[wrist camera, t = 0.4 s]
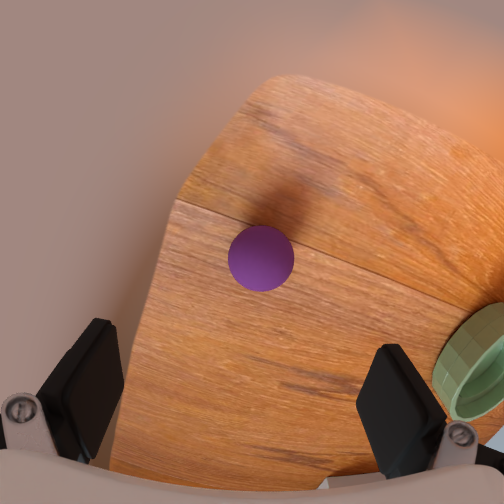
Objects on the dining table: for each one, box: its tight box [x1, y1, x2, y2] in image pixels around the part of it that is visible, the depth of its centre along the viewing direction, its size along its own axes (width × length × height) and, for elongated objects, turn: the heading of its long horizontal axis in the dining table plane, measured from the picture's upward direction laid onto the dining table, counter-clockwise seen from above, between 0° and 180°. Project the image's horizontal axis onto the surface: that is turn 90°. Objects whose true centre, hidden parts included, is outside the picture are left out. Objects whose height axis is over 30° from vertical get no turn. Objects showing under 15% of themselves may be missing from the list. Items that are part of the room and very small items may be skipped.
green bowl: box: [432, 302, 504, 422], centre depth 29 cm, size 16×16×6 cm
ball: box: [228, 225, 294, 292], centre depth 23 cm, size 5×5×5 cm
